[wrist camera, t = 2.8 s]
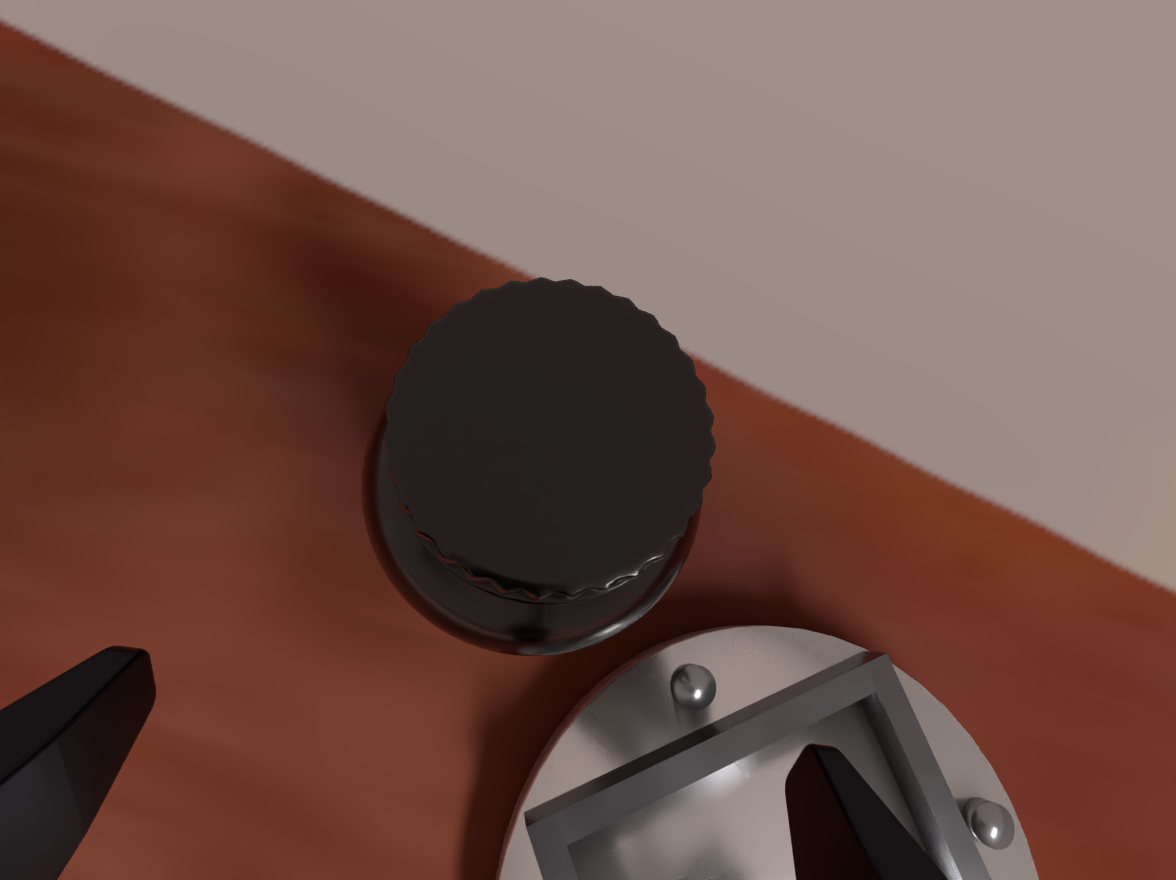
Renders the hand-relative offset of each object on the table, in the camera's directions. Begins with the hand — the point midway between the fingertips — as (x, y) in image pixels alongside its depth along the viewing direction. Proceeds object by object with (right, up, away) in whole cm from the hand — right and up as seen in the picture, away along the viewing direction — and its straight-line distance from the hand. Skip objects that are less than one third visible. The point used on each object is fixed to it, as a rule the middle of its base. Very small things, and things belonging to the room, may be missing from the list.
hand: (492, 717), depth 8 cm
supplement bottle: (-1, +1, +12) cm, 12 cm away
